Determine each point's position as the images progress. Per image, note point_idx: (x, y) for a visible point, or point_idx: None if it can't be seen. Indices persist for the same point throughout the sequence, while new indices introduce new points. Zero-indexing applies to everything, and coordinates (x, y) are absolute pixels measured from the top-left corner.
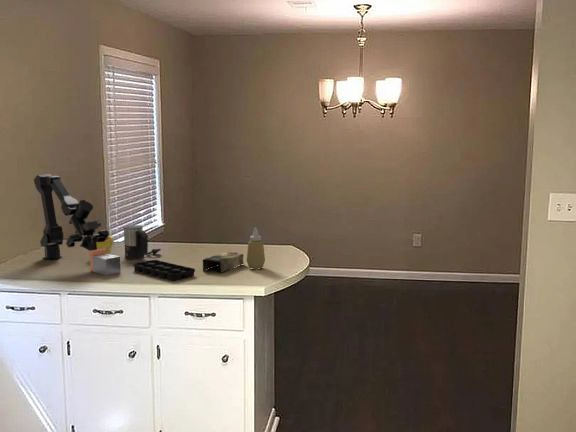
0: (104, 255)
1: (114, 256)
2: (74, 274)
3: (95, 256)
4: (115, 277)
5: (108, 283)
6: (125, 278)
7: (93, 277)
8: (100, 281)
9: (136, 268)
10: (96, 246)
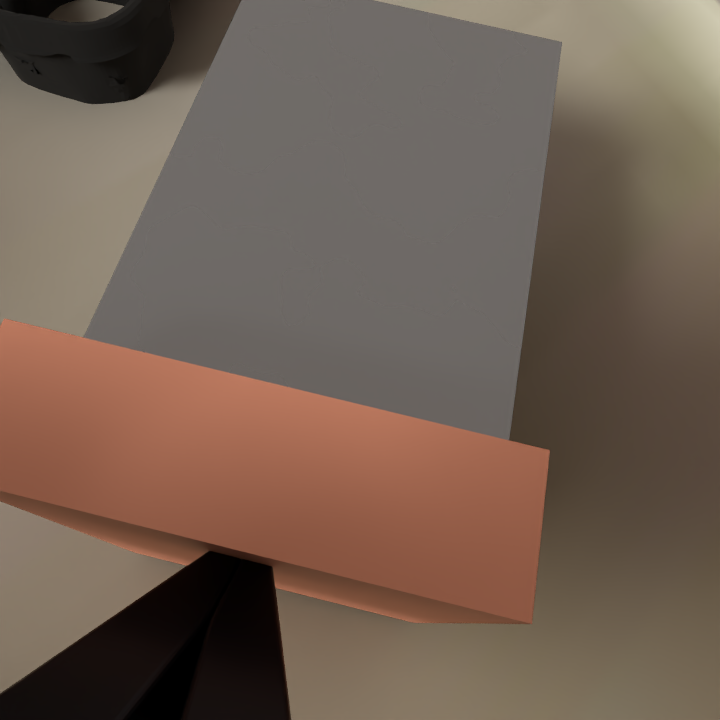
0: (305, 258)
1: (295, 44)
2: (716, 708)
3: (502, 365)
4: None
5: (698, 34)
6: (463, 12)
7: (642, 307)
8: (703, 132)
9: (157, 22)
10: (34, 686)
